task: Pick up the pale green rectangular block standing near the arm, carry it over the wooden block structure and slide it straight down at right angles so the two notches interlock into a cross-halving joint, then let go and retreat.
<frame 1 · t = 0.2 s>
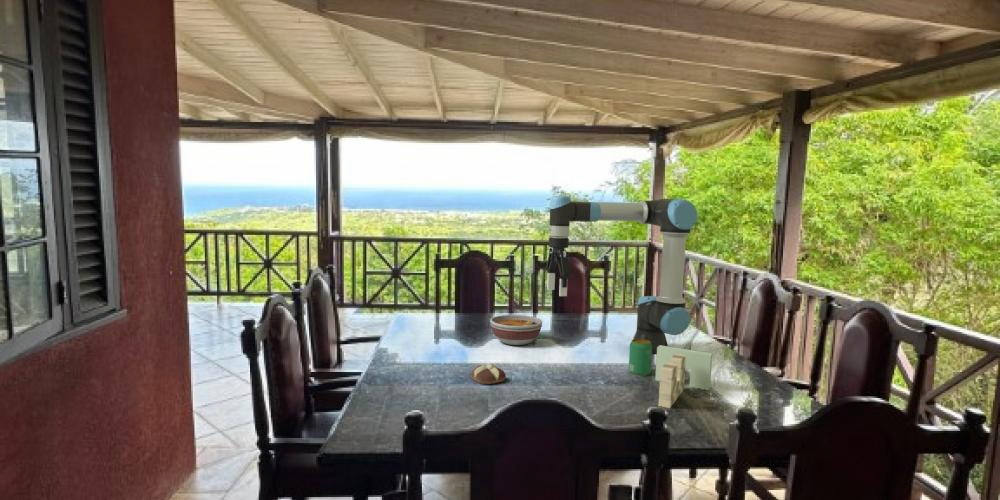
hand: (556, 292, 208), 28 cm above the table, fingers open, 13 cm apart
pale green rectangular block: (682, 383, 192), on the table
bowl: (515, 342, 241), on the table
wooden block structure: (671, 397, 178), on the table
bread: (488, 380, 191), on the table
beverage can: (639, 373, 203), on the table
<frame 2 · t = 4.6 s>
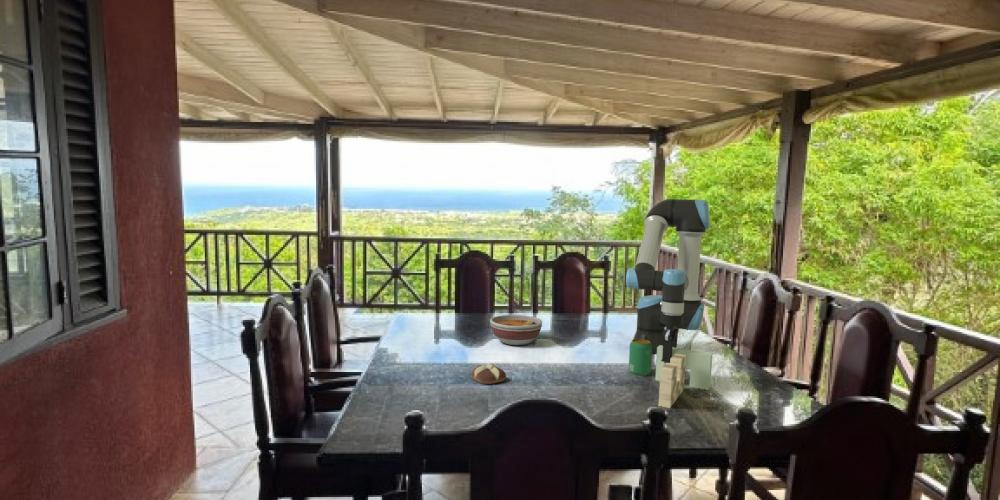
hand: (668, 378, 194), 1 cm above the table, fingers closed on pale green rectangular block, 3 cm apart
pale green rectangular block: (682, 383, 192), on the table, touching gripper
everything else where it was.
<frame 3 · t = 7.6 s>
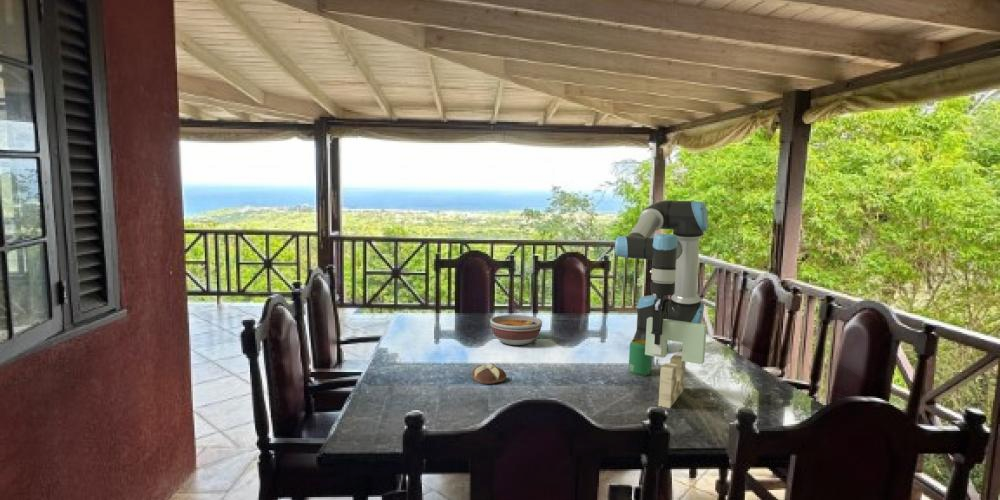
hand: (658, 352, 179), 14 cm above the table, fingers closed on pale green rectangular block, 3 cm apart
pale green rectangular block: (674, 358, 177), point 13 cm above the table, touching gripper
everything else where it was.
when the fingers open (3 cm above the table, at t = 10.6 s): pale green rectangular block drops 1 cm, on the table.
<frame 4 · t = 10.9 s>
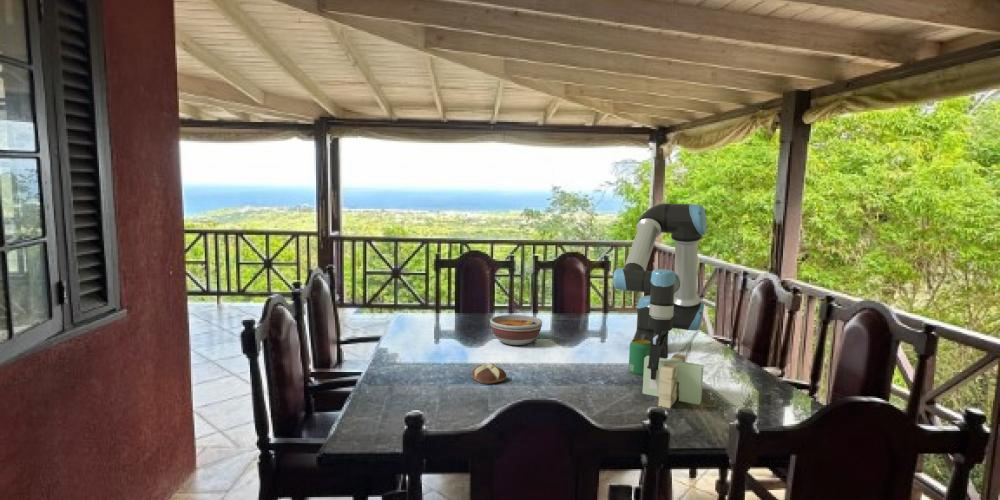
hand: (656, 384, 181), 3 cm above the table, fingers open, 8 cm apart
pale green rectangular block: (671, 397, 178), on the table
everything else where it was.
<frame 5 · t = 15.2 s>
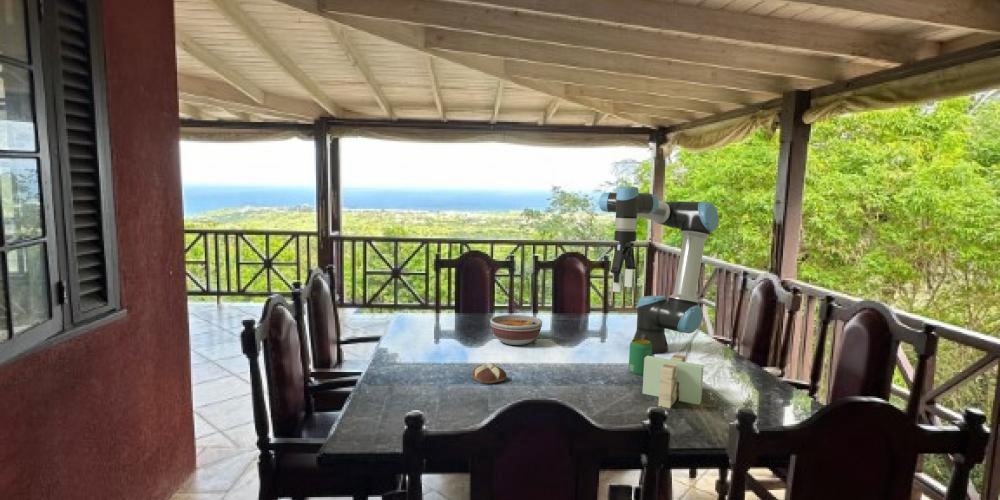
hand: (622, 289, 197), 32 cm above the table, fingers open, 13 cm apart
nothing on the table moved.
at the end: pale green rectangular block 0.1 cm off-centre on the wooden block structure, point 0.0 cm above the wooden block structure's base; pale green rectangular block tilted 0°; the gripper is holding nothing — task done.
